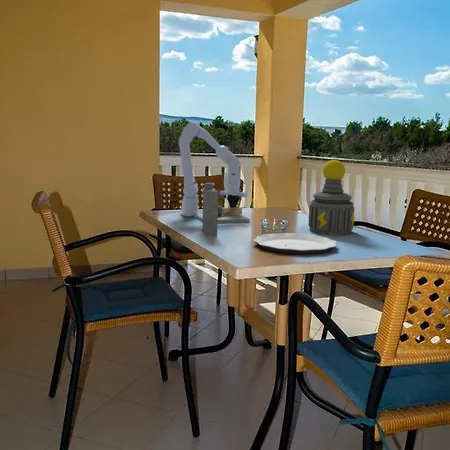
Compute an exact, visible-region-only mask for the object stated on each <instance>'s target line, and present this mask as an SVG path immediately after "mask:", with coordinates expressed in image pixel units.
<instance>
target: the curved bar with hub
mask: <svg viewBox="0 0 450 450" xmlns="http://www.w3.org/2000/svg"><path fill="white" fill-rule="evenodd" d="M222 215H242V216H243V207H240V206H239V207H237V206H236V208H230V207H222V206H220V204H218V216H222Z"/></svg>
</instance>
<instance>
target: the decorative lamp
mask: <svg viewBox="0 0 450 450" xmlns="http://www.w3.org/2000/svg"><path fill="white" fill-rule="evenodd" d="M322 174H323V177H324V178H325V180H324V183H323V188H322V189H321V191H317V192H316V193H313V199H312V200H311V201H310V204H309V209H308V216H307V218H308V227H309V231H310V232H311V233H313V234H314V233H315V234H319V235H327V236H328V235H329V236H345V235H346V236H347V235H349V234H351V233H352V231H353V229H354V223H355V206H354V202H352V201H351V200H352V195H350V194H349V193H346V192H345V191H344V189H343V184H342V181H343V180H342V179H343V178H344V176H345V174H346V168H345V165H344V164H343V162H341V161H340V160H337V159H331V160H329V161H327V162H326V163H325V164H324V166H323V167H322Z"/></svg>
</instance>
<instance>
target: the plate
mask: <svg viewBox="0 0 450 450" xmlns="http://www.w3.org/2000/svg"><path fill="white" fill-rule="evenodd" d="M252 241H253V242H254V243H256V244H258V245H259V246H261V247H262V248H263V249H265V250H268V251H271V252H277V253H282V254H291V255H313V254H314V255H315V254H321V253H325V252H328V251H329V250H332V249H335V248H336V247H337V244H338V242H337V241H336V240H333V239H330V238H328V237H326V236H318V235H313V234H305V233H291V232H285V233H282V232H281V233H267V234H262V235H257V236H256V237H255V238H253V239H252ZM285 245H286V246H285Z"/></svg>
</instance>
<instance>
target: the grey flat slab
mask: <svg viewBox="0 0 450 450" xmlns="http://www.w3.org/2000/svg"><path fill="white" fill-rule="evenodd" d="M193 217H194V218H196V219H197V220H198V221H200V222H202V223H203V212H202V213H199V212H198V213H197V214H194V216H193ZM250 221H251V220H250V218H249V217H246V216H244V215H243V214H242V215H222V216H218V219H217V224H229V223H230V224H232V223H233V224H234V223H251V222H250Z"/></svg>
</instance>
